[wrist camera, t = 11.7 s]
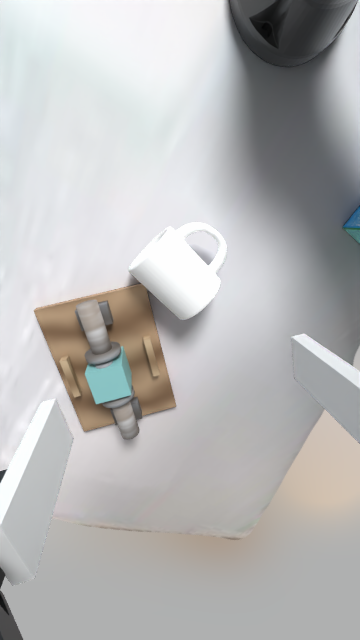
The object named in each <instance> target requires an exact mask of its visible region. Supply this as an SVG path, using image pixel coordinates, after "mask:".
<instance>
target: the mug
mask: <svg viewBox="0 0 360 640" xmlns="http://www.w3.org/2000/svg"><path fill="white" fill-rule="evenodd" d="M196 232H205V233H207V234H209V235H210V236H212V237H213V238H214V239H215V241H216V242H217V244H218V253H217V255H216V257H215V258H214V260H213V261H212V263H211V264H210V265H207V264H206V263H205V262H204V261H203V260H202V259H201V258H200V257H199V256H198V255H197V254H196V253H195V252H194V250H193V249H192V248H191V247H190V246H189V245H188V244H187V243H186V242H185V238H187V237H188V236H190V235H191V234H193V233H196ZM226 256H227V245H226V242H225V240H224V238H223V237H222V235H221V234H220V233H219V232H218V231H217V230H215V229H214V228H213V227H211V226H209V225H207V224H204V223H199V222H193V223H188V224H186V225H184V226H182V227H180V228H179V229H178V230H174V229H173V228H172V227H171V226H169V227H167V228H166V229H164V230H163V231H162V232H161V233H160V234H158V235H157V236H156V237H155V238H154V239H153V240H152V241H151V242H150V243H149V244H148V245H147V246H146V247H145V248H144V250H143V251H142V252H141V253H140V254H139V255H138V256H137V258H136V259H135V260H134V261H133V263H132V264H131V265H130V267H129V269H128V271H129V272H130V273H131V274H132V275H133V276H134V277H135V278H136V279H137V280H138V281H139V282H140V283H141V284H142V285H144V286H145V287H146V288H147V289H148V290H149V291H150V292H151V293H152V294H153V295H154V296H155V297H156V298H158V299H159V300H160V301H161V302H162V303H163V304H164V305H165V306H166V307H167V308H168V309H169V310H170V311H171V312H173V313H174V314H175V315H176V316H177V317H178V318H179V319H181V320H186V319H189V318H192V317H193V316H195V315H197V314H198V313H199V312H201V311H202V310H203V309H204V308H205V307H206V306H207V305H208V304H209V303H210V302H211V301H212V299H213V298H214V297H215V295H216V294H217V292H218V290H219V288H220V285H221V281H220V279H219V277H218V276H217V275H216V274H217V272H218V271H219V270H220V268H221V267H222V266H223V264H224V262H225V259H226Z"/></svg>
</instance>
